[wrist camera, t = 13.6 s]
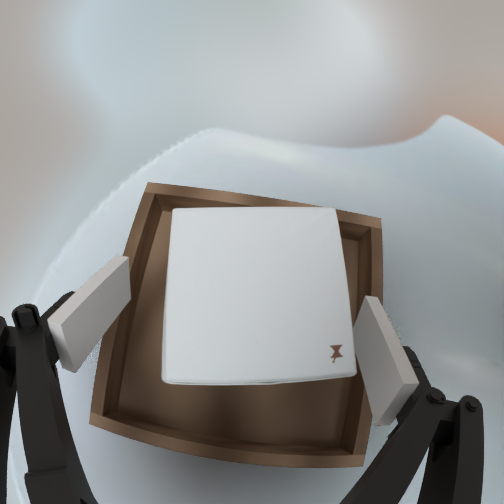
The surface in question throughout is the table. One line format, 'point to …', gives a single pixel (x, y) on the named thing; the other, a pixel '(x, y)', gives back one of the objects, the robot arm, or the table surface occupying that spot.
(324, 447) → the box
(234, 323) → the supplement box
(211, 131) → the table surface
